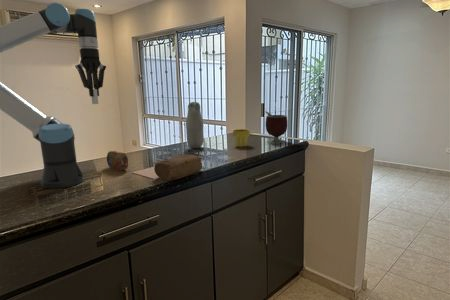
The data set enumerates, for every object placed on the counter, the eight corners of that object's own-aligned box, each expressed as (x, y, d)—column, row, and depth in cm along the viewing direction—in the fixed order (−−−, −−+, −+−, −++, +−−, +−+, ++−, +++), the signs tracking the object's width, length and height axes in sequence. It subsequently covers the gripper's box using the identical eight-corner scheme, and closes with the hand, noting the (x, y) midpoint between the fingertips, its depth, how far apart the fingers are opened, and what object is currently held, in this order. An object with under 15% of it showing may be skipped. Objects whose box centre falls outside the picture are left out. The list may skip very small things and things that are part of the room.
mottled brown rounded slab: (107, 167, 145) (105, 150, 144) (113, 166, 148) (111, 149, 146) (124, 172, 136) (122, 154, 134) (130, 170, 138) (128, 152, 136)
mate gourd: (290, 141, 198) (291, 110, 194) (280, 144, 188) (281, 112, 184) (270, 139, 208) (270, 110, 204) (259, 142, 197) (259, 111, 193)
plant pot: (250, 147, 184) (250, 131, 182) (233, 147, 184) (232, 131, 182) (249, 144, 194) (248, 128, 192) (232, 144, 194) (232, 129, 192)
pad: (155, 179, 123) (155, 179, 123) (132, 172, 134) (132, 172, 134) (191, 168, 138) (191, 168, 138) (167, 163, 149) (167, 163, 149)
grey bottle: (184, 149, 183) (181, 102, 177) (192, 146, 192) (190, 101, 186) (199, 150, 179) (196, 102, 173) (206, 146, 188) (204, 101, 182)
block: (171, 182, 119) (204, 171, 135) (171, 164, 117) (203, 154, 133) (153, 177, 125) (186, 167, 141) (152, 160, 123) (185, 151, 139)
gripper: (77, 46, 123) (84, 105, 128) (107, 48, 132) (113, 103, 137) (69, 48, 128) (76, 104, 132) (99, 50, 137) (104, 103, 142)
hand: (95, 103), depth 135 cm, fingers closed
